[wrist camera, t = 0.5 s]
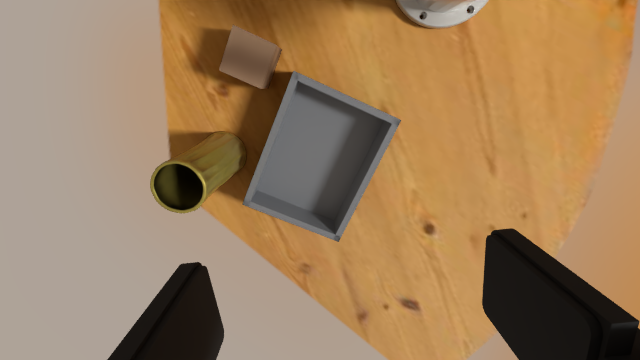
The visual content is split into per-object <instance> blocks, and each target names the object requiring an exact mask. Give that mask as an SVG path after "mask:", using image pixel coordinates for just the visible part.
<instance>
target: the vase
mask: <svg viewBox="0 0 640 360" xmlns="http://www.w3.org/2000/svg"><path fill="white" fill-rule="evenodd" d="M245 161H246V150H245V147H244V145H243V143H242V142H241V140H240V139H239V138H238V137H236V136H235V135H233V134H231V133H228V132H216V133H213V134H211V135H210V136H208V137H207V138H206V139H205V140H204V141H202V142H201V143H199V144H197V145H196V146H194V147H192V148H191V149H189V150H188V151H186V152H184V153H182V154H180V155H178V156H176V157H174V158H172V159H170V160H168V161H166V162H164V163H163V164H161V165H160V166H158V167H157V168H156V169H155V171H154V173H153V175H152V177H151V182H150V188H151V192H152V194H153V196H154V198H155V200H156V201H157V202H158V203H159V204H160V205H161V206H162V207H164V208H165V209H167V210H169V211H172V212H176V213H188V212H191V211H195V210H196V209H198V208H199V207H200V206H201V205H202V203H203V202H204V201H205V200H206V199H207V198H208V197H209V196H210V195H211V194H212V193H213V192H214V191H215V190H216V189H217V188H218V187H220V186H221V185H222V184H224V183H225V182H226V181H227V180H228V179H230V178H231V177H232V176H233V175H234V174H235V173H237V172H238V171H239V170H240V169H241V168H242V167H243V166H244V164H245Z"/></svg>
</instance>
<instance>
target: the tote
mask: <svg viewBox="0 0 640 360" xmlns="http://www.w3.org/2000/svg"><path fill="white" fill-rule="evenodd" d="M400 122H401V120H400V119H398V118H395V117H393V116H391V115H389V114H387V113H385V112H382V111H380V110H378V109H376V108H374V107H371V106H369V105H367V104H365V103H363V102H361V101H358V100H356V99H354V98H352V97H350V96H348V95H345V94H343V93H341V92H339V91H337V90H334V89H332V88H330V87H328V86H326V85H324V84H321V83H319V82H317V81H315V80H313V79H311V78H308V77H306V76H304V75H302V74H300V73H297V72H295V71H293V74H292V76H291V79H290V82H289V84H288V87H287V89H286V92H285V95H284V97H283V100H282V103H281V105H280V108H279V110H278V113H277V116H276V118H275V121H274V123H273V126H272V129H271V131H270V134H269V136H268V139H267V142H266V144H265V147H264V149H263V152H262V155H261V157H260V160H259V162H258V165H257V168H256V170H255V173H254V176H253V178H252V181H251V183H250V186H249V189H248V191H247V194H246V196H245V199H244V202H243V204H242V205H245V206H248V207H250V208H253V209H255V210H258V211H260V212H263V213H266V214H268V215H271V216H273V217H276V218H279V219H281V220H284V221H286V222H289V223H291V224H294V225H297V226H299V227H302V228H304V229H307V230H309V231H312V232H315V233H317V234H320V235H322V236H325V237H327V238H330V239H333V240H335V241H338V242H339V240H340V238H341V236H342V234H343V232H344V230H345V228H346V226H347V224H348V222H349V221H350V219H351V217H352V215H353V213H354V211H355V209H356V207H357V205H358V203H359V201H360V199H361V197H362V195H363V193H364V191H365V189H366V188H367V186H368V184H369V182H370V180H371V178H372V176H373V174H374V172H375V170H376V168H377V166H378V164H379V162H380V160H381V158H382V156H383V155H384V153H385V151H386V149H387V147H388V145H389V143H390V141H391V139H392V137H393V135H394V133H395V131H396V129H397V127H398V125H399V123H400Z"/></svg>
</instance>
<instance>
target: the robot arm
mask: <svg viewBox="0 0 640 360" xmlns="http://www.w3.org/2000/svg"><path fill="white" fill-rule="evenodd" d="M396 2H397V5H398V6H399V8H400V9H401V10H402V12H403V13H404V14H405V15H406V16H407V17H408V18H409V19H410V20H412V21H413V22H415V23H417V24H419V25H421V26H424V27H427V28H434V29H442V28H449V27H452V26H455V25H458V24H460V23H462V22H464V21H467V20H468V19H470V18H471V17H473V16H474V15H475V14H476V13H478V12H479V11H480V10H481V9H482V8H483V7H484V6H485V4H486V3H487V2H488V0H396ZM467 9H468V10H469V13H467ZM420 15H422V16H423V18H422V19H420V17H419V16H420ZM482 305H483V309H484V312H485V314H486V315H487V317H488V318H489V319H490V321H491V322H492V323H493V325H494V326H495V328H496V329H497V330H498V332H499V333H500V334H501V336H502V337H503V339H504V340H505V341H506V343H507V344H508V345H509V347H510V348H511V350H512V351H513V352H514V354H515V355H516V356H517V358H518V359H519V360H640V329H639V328H638V325H639V321H638V320H637V319H636V318H634V317H633V316H631V315H630V314H629V313H627V312H626V311H625V310H623V309H622V308H621V307H619V306H618V305H617V304H615V303H614V302H612V301H611V300H610V299H609V298H607V297H606V296H604V295H603V294H602V293H600V292H599V291H598V290H596V289H595V288H594V287H592V286H591V285H589V284H588V283H587V282H585V281H584V280H583V279H581V278H580V277H579V276H577V275H576V274H575V273H573V272H572V271H571V270H569V269H568V268H566V267H565V266H564V265H562V264H561V263H560V262H558V261H557V260H556V259H554V258H553V257H552V256H550V255H549V254H547V253H546V252H545V251H543V250H542V249H541V248H539V247H538V246H537V245H535V244H534V243H532V242H531V241H530V240H528V239H527V238H526V237H524V236H523V235H522V234H520V233H519V232H518V231H516V230H515V229H501V230H494V231H492V233H491V235H488V236H487V238H486V250H485V266H484V283H483V299H482ZM223 338H224V328H223V324H222V321H221V317H220V313H219V310H218V307H217V302H216V299H215V295H214V292H213V288H212V284H211V281H210V277H209V273H208V270H207V267H206V266H202V265H201V263H199V262H195V263H186V264H181V265H180V266H179V267H178V268H177V269H176V271H175V272H174V273H173V275H172V276H171V277H170V279H169V280H168V281H167V282H166V284H165V285H164V286H163V288H162V289H161V290H160V292H159V293H158V294H157V296H156V297H155V298H154V299H153V301H152V302H151V303H150V305H149V306H148V307H147V309H146V310H145V311H144V313H143V314H142V315H141V317H140V318H139V319H138V320H137V322H136V323H135V324H134V326H133V327H132V328H131V330H130V331H129V332H128V334H127V335H126V336H125V337H124V339H123V340H122V341H121V343H120V344H119V345H118V347H117V348H116V349H115V350H114V352H113V353H112V354H111V356H110V357H109V358H108V360H216V358H217V356H218V353H219V350H220V348H221V345H222V342H223Z"/></svg>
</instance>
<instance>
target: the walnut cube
mask: <svg viewBox="0 0 640 360" xmlns="http://www.w3.org/2000/svg"><path fill="white" fill-rule="evenodd" d="M281 51H282V49H281V48H279V47H278V46H277V45H275V44H273V43H271V42H269V41H267V40H265V39H263V38H260V37H258V36H256V35H254V34H252V33H250V32H248V31H245V30H243V29H241V28H239V27H237V26H235V25H233V26H232V29H231V32H230V36H229V39H228V42H227V45H226V49H225V52H224V55H223V58H222V62H221V65H220V68H219V71H222V72H224V73H226V74H228V75H231V76H233V77H235V78H237V79H240V80H242V81H244V82H246V83H249V84H251V85H253V86H255V87H258V88H260V89H265V88H268V87H269V84H270V82H271V79H272V76H273V73H274V71H275V68H276V65H277V62H278V60H279V57H280V54H281Z"/></svg>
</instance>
